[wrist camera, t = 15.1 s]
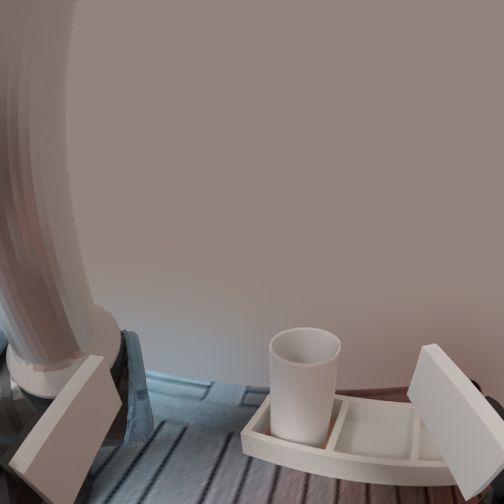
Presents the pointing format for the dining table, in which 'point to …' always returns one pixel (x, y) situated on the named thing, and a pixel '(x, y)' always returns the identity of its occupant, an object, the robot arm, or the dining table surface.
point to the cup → (303, 384)
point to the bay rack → (358, 445)
